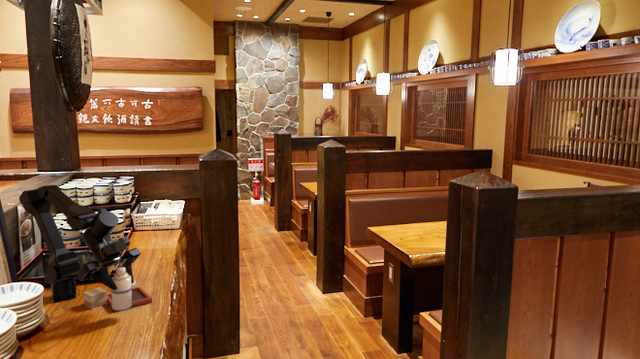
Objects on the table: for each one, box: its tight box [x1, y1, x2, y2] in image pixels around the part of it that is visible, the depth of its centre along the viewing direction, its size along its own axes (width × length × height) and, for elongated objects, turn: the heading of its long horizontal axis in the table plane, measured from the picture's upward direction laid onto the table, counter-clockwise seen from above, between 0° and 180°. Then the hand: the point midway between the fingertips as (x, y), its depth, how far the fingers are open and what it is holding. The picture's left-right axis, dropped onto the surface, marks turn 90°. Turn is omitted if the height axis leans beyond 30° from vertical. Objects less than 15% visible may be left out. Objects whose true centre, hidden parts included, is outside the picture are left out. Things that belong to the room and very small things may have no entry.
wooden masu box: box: [82, 287, 108, 310], centre depth 140 cm, size 5×5×4 cm
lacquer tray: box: [107, 286, 153, 313], centre depth 143 cm, size 12×12×2 cm
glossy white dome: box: [131, 279, 137, 288], centre depth 156 cm, size 6×6×2 cm
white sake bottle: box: [110, 266, 133, 311], centre depth 130 cm, size 6×6×12 cm
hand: (124, 286), depth 130 cm, fingers closed on white sake bottle, 6 cm apart
